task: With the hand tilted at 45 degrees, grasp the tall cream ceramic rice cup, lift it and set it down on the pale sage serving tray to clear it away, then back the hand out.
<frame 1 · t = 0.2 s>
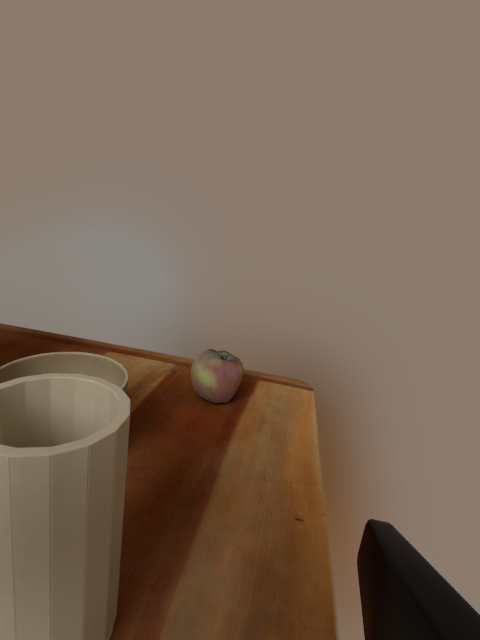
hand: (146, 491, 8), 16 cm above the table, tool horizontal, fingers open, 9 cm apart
flower pot: (61, 455, 31), on the table
rice cup: (50, 623, 19), on the table
apple: (212, 400, 44), on the table
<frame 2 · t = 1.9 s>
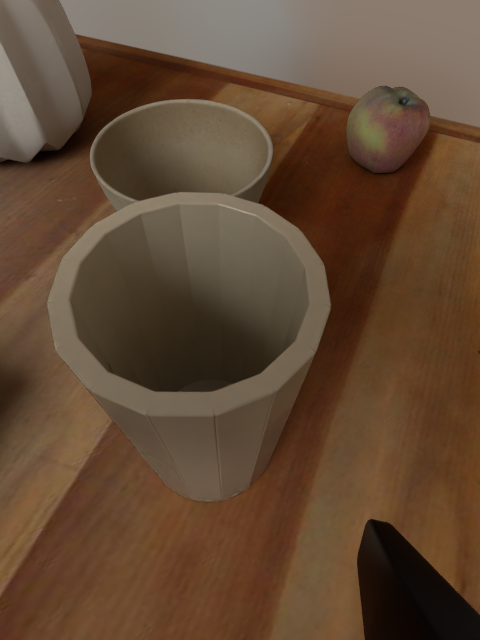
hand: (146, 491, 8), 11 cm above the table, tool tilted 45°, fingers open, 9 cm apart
flower pot: (192, 240, 27), on the table
rice cup: (211, 433, 19), on the table
vase: (23, 138, 33), on the table
apple: (370, 166, 32), on the table
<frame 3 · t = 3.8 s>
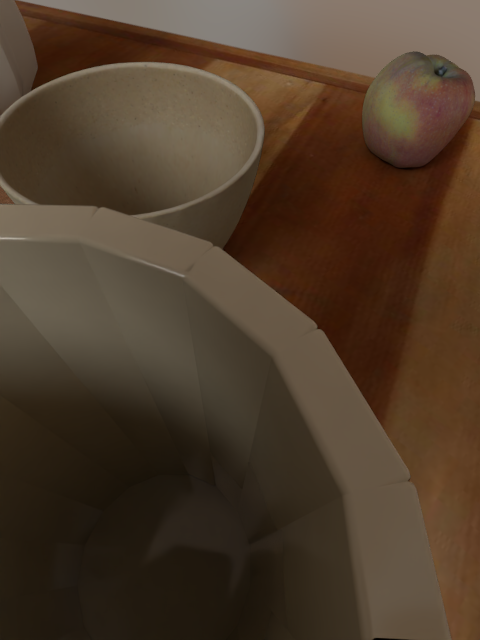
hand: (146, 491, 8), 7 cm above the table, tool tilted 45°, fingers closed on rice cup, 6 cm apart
flower pot: (159, 257, 20), on the table
rice cup: (168, 564, 13), on the table, touching gripper
apple: (392, 159, 25), on the table
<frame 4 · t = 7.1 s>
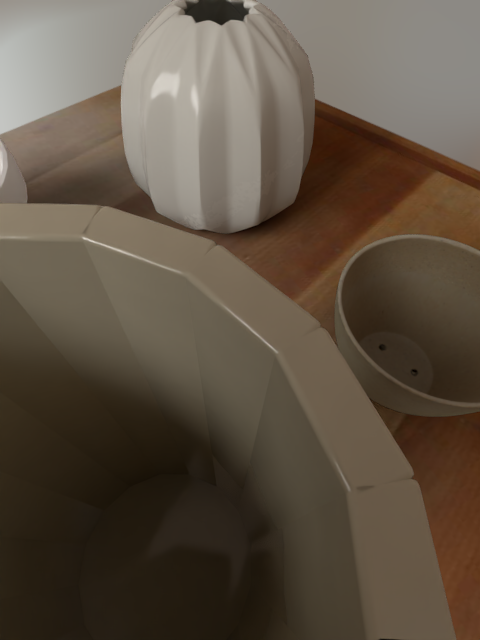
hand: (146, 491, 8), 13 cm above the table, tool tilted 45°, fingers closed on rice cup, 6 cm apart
flower pot: (386, 370, 24), on the table
rice cup: (169, 563, 13), point 7 cm above the table, touching gripper
vase: (221, 199, 33), on the table
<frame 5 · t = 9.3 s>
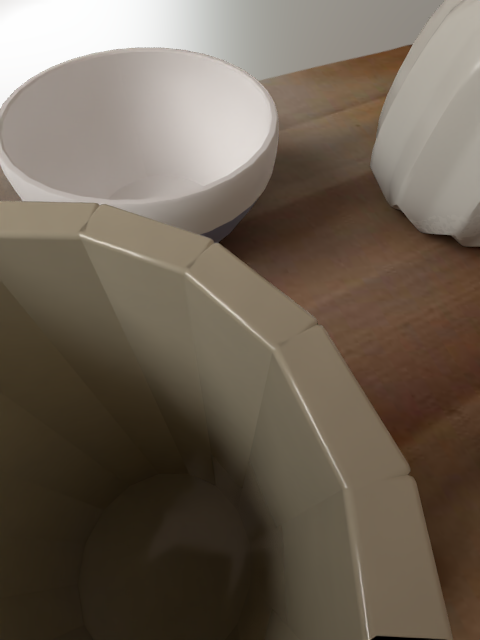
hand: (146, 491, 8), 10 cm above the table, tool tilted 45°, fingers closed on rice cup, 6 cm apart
bowl: (162, 224, 26), on the table
rice cup: (169, 563, 13), point 3 cm above the table, touching gripper
vase: (449, 204, 28), on the table
when the fingers open (7 cm above the table, at t = 10.7 s): rice cup stays where it is, resting on serving tray.
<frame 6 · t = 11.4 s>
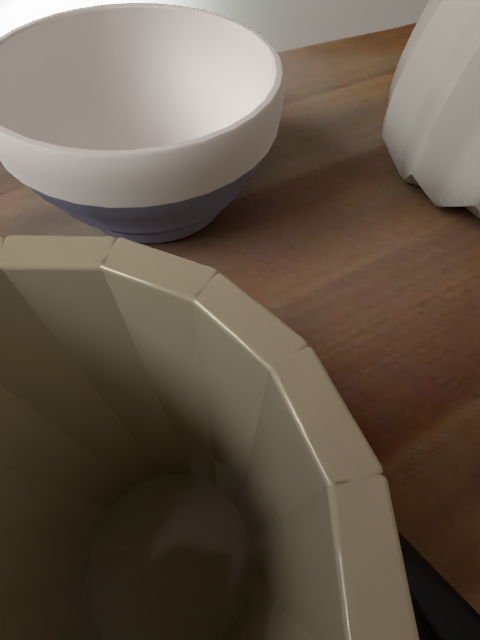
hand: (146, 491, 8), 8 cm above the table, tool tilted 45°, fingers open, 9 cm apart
bowl: (157, 198, 24), on the table
rice cup: (172, 559, 13), resting on serving tray
vase: (465, 180, 26), on the table
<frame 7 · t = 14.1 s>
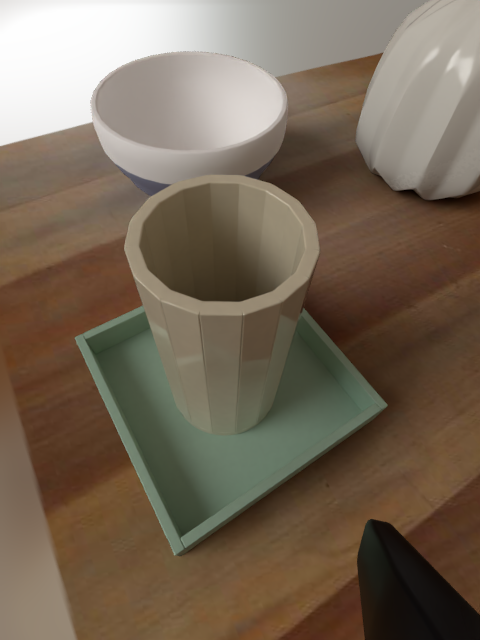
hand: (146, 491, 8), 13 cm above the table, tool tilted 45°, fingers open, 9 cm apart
bowl: (197, 185, 34), on the table
rice cup: (225, 383, 23), resting on serving tray
vase: (417, 172, 36), on the table
serving tray: (225, 386, 23), on the table
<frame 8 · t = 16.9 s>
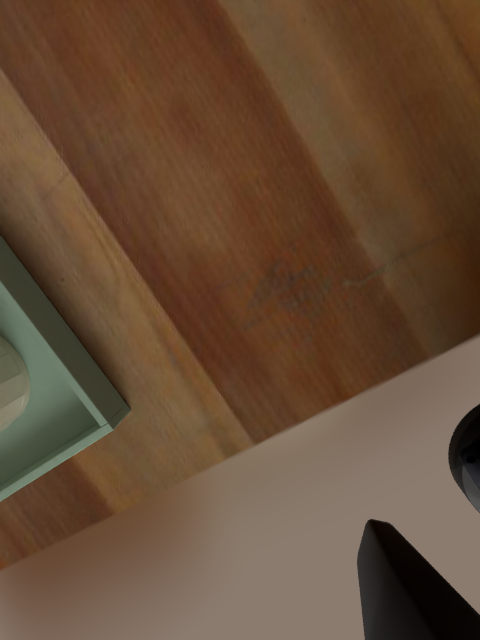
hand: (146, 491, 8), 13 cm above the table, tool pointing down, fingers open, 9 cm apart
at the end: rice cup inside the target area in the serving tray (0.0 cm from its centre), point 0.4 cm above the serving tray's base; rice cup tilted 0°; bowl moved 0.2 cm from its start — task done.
